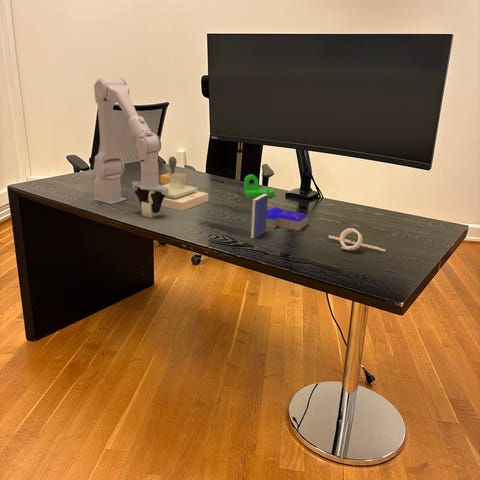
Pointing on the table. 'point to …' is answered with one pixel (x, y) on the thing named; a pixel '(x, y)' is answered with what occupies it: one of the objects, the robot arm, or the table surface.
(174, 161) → the rubber stamp
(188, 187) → the pan
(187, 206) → the scale housing
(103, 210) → the table surface
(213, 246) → the table surface
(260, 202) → the hard drive
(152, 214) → the tan brown block
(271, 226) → the blue beige flat block
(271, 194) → the mechanical part
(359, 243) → the beige ring with bar
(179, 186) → the tan brown block
